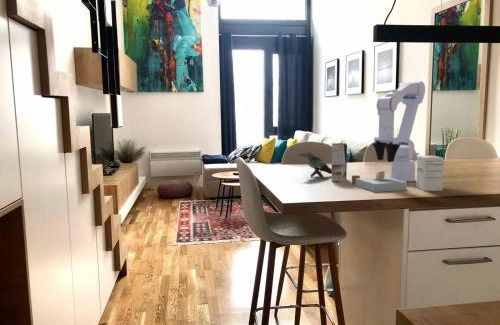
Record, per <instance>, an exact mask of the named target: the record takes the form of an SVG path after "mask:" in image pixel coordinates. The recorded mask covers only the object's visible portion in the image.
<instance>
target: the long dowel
mask: <svg viewBox="0 0 500 325" xmlns="http://www.w3.org/2000/svg"><path fill="white" fill-rule="evenodd" d="M385 173H386V172H385V171H384V170H376V171H375V177H376V181H384V177H386V176H385Z"/></svg>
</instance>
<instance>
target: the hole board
mask: <svg viewBox="0 0 500 325" xmlns="http://www.w3.org/2000/svg"><path fill="white" fill-rule="evenodd" d="M354 186H355V187H358V188H361V189H363V188H364V190H366V189H367V191H369V190H370V192H373V193H374V192H375V193H377V192H379V193H380V192H395V191H407V190H408V189H407V188H408V181H406V182H405V181H401V180H397V179H393V178H391V177H389V176H385V177H384V181H376V176H374V177H360V178H356V180H355V185H354Z"/></svg>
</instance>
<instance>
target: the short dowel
mask: <svg viewBox="0 0 500 325" xmlns="http://www.w3.org/2000/svg"><path fill="white" fill-rule="evenodd" d="M356 178H361V175H358V174H356V175H351V185H353V184H355V180H356Z"/></svg>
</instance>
